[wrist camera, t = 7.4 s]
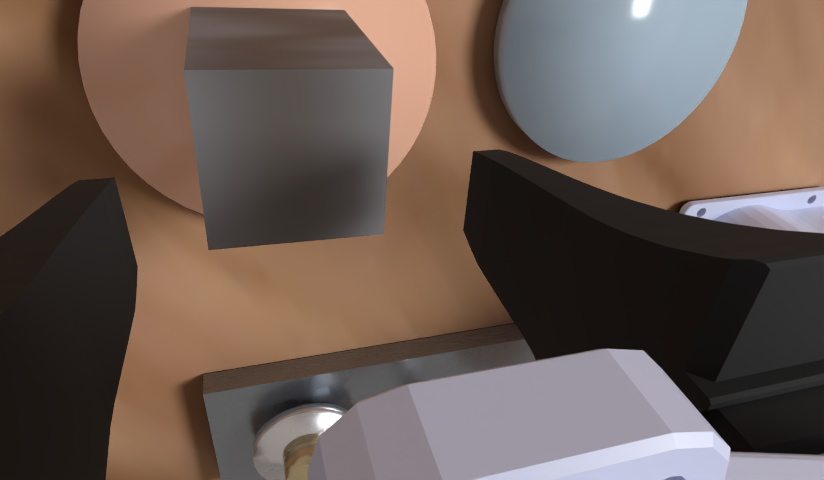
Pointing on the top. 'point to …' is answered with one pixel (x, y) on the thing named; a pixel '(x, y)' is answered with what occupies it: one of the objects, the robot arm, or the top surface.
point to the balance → (330, 395)
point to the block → (287, 125)
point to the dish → (166, 89)
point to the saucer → (609, 69)
